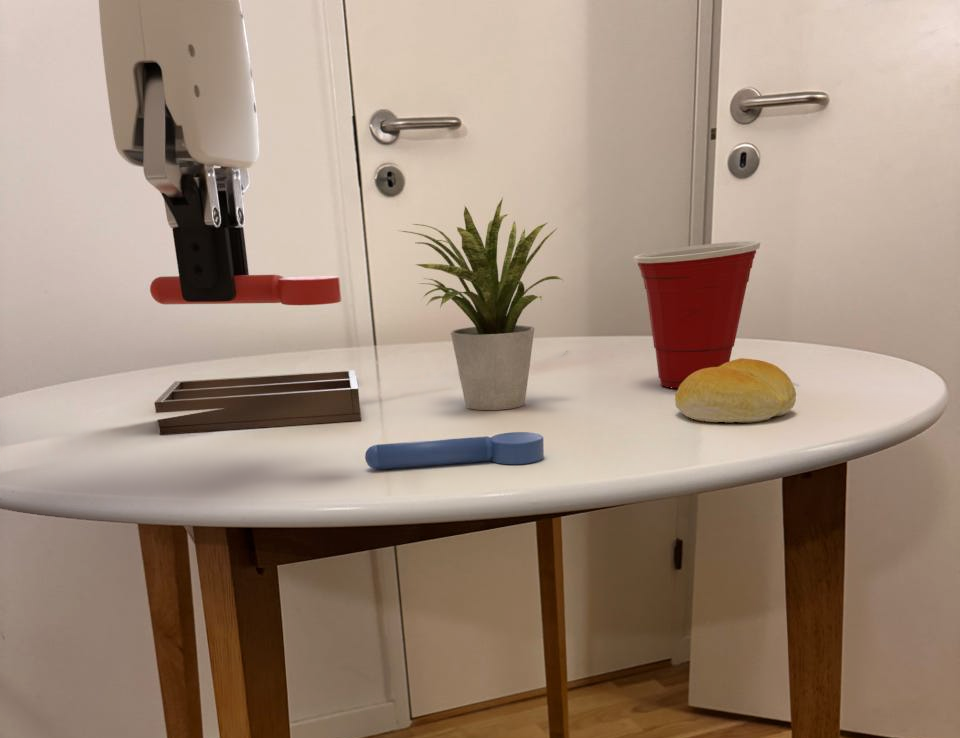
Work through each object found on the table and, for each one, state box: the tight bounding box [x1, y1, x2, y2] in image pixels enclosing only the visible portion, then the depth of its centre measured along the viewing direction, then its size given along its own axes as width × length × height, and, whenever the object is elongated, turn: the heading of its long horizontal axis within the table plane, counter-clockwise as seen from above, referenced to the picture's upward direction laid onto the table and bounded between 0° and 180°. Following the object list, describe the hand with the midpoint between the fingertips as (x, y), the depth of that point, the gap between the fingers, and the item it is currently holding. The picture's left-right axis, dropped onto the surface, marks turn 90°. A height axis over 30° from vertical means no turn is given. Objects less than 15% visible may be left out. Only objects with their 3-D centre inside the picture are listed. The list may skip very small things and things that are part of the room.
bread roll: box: [674, 357, 797, 424], centre depth 72 cm, size 8×9×4 cm
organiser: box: [153, 369, 362, 436], centre depth 81 cm, size 16×11×3 cm
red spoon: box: [149, 274, 342, 306], centre depth 56 cm, size 12×4×2 cm, turn 81°
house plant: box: [396, 196, 563, 411], centre depth 79 cm, size 14×14×16 cm
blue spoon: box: [364, 431, 545, 470], centre depth 62 cm, size 12×4×2 cm, turn 99°
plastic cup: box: [632, 240, 761, 389], centre depth 84 cm, size 11×11×12 cm
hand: (217, 297), depth 57 cm, fingers closed on red spoon, 1 cm apart
